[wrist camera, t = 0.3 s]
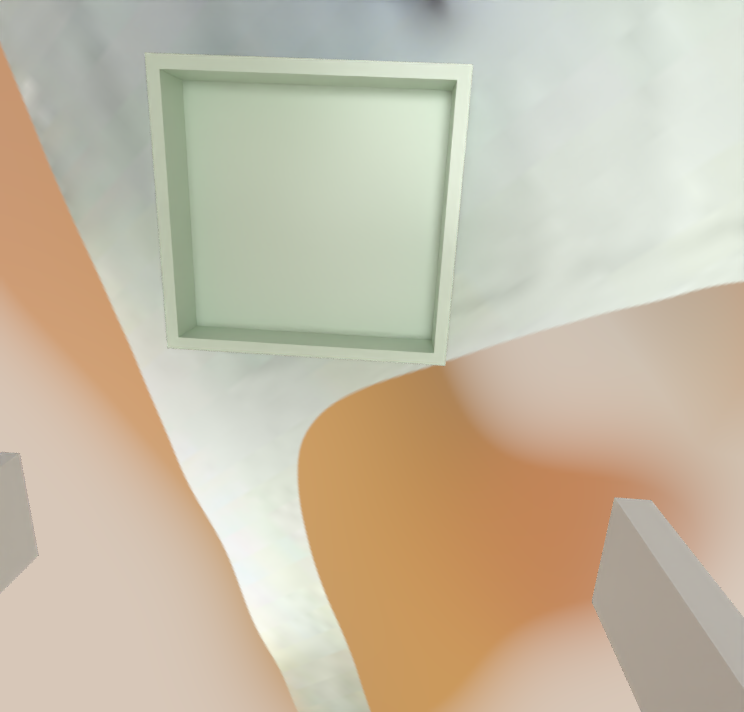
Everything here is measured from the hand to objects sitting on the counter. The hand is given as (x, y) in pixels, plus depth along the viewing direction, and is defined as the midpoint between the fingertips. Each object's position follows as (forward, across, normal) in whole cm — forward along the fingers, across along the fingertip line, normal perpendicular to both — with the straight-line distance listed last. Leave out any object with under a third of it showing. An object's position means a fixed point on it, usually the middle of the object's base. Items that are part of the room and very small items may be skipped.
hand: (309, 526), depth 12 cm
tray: (+27, -4, +5) cm, 28 cm away
